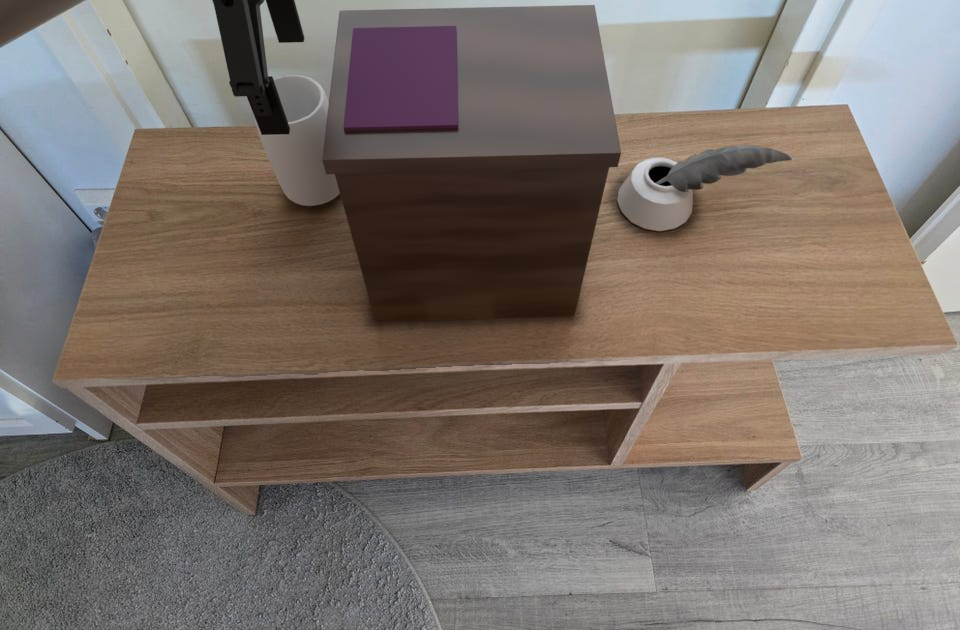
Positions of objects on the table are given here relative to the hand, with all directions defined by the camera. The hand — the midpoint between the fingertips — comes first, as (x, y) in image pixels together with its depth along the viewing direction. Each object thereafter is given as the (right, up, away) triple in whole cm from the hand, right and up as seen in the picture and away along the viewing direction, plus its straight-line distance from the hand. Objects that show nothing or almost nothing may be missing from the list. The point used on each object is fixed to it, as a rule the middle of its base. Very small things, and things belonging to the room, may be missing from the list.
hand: (284, 84), depth 71 cm
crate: (+20, -17, +8) cm, 27 cm away
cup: (0, -8, +14) cm, 16 cm away
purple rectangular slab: (+14, -4, -14) cm, 20 cm away
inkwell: (+46, -10, +13) cm, 49 cm away
